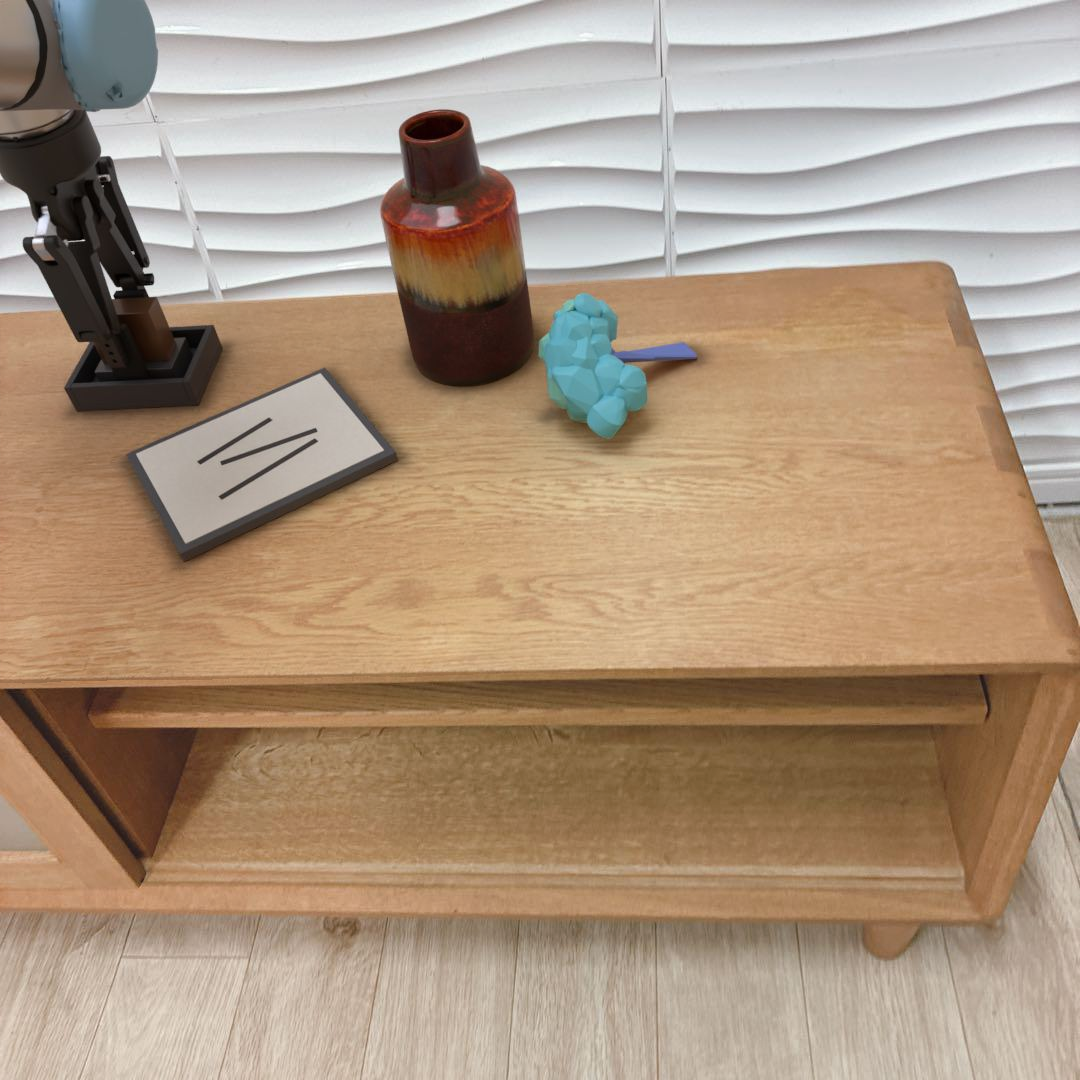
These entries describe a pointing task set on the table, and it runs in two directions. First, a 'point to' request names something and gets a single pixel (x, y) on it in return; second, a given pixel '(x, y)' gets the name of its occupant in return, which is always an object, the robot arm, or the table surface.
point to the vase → (457, 255)
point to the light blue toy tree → (597, 365)
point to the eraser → (149, 340)
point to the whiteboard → (258, 461)
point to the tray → (147, 392)
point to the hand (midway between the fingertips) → (147, 370)
